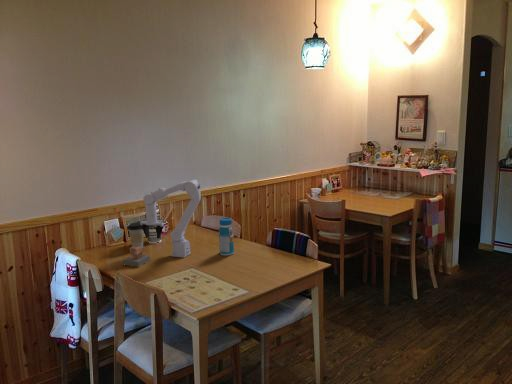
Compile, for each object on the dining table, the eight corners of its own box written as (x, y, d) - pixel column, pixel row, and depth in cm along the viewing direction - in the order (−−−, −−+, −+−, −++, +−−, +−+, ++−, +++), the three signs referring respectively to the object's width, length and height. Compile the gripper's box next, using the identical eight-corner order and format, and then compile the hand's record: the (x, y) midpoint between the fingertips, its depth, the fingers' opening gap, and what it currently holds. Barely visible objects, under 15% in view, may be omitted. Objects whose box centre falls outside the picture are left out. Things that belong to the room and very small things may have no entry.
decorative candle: (165, 240, 291) (162, 201, 286) (154, 244, 283) (151, 204, 279) (154, 238, 296) (151, 200, 291) (144, 242, 288) (140, 203, 284)
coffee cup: (143, 251, 271) (141, 226, 268) (127, 251, 271) (125, 226, 268) (147, 246, 280) (145, 222, 277) (132, 246, 280) (129, 222, 278)
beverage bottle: (220, 256, 257) (219, 221, 253) (218, 251, 265) (216, 217, 261) (235, 254, 259) (234, 220, 255) (232, 250, 267) (231, 216, 263)
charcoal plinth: (150, 261, 254) (149, 255, 253) (138, 267, 244) (138, 261, 244) (135, 259, 257) (134, 254, 257) (123, 265, 248) (122, 259, 248)
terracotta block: (142, 256, 252) (141, 246, 251) (137, 259, 248) (136, 248, 246) (135, 256, 253) (134, 245, 252) (130, 258, 249) (129, 247, 248)
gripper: (136, 215, 259) (138, 238, 261) (158, 217, 253) (160, 240, 256) (143, 212, 265) (145, 235, 268) (165, 214, 260) (167, 237, 262)
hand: (153, 237), depth 262 cm, fingers open, 7 cm apart
